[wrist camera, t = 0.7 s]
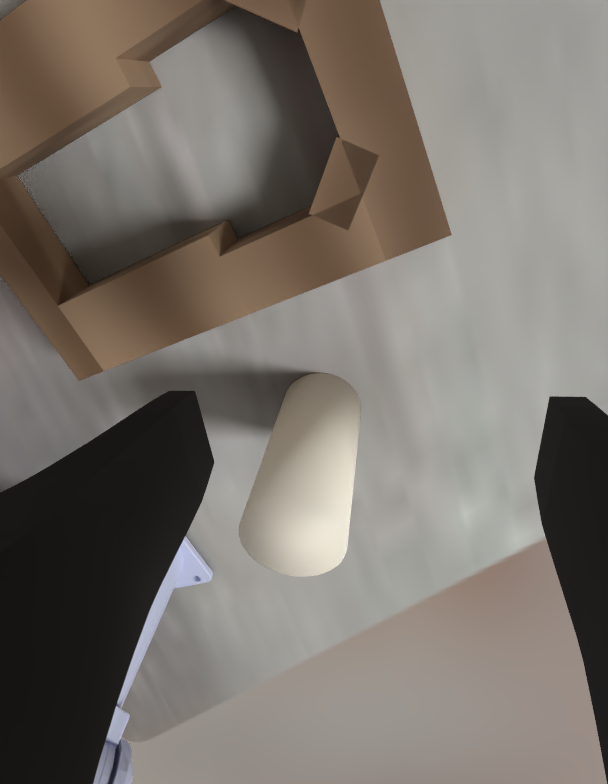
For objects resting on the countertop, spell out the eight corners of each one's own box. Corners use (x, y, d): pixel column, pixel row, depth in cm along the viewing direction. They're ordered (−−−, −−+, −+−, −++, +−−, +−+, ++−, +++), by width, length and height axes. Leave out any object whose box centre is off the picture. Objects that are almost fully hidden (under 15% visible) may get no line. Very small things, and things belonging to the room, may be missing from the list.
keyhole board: (106, 355, 23) (78, 380, 21) (-64, 109, 19) (-120, 112, 17) (444, 218, 18) (451, 234, 16) (323, -174, 13) (311, -221, 11)
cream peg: (303, 446, 24) (268, 583, 18) (270, 386, 23) (219, 512, 16) (372, 427, 23) (364, 567, 16) (343, 363, 22) (320, 487, 15)
